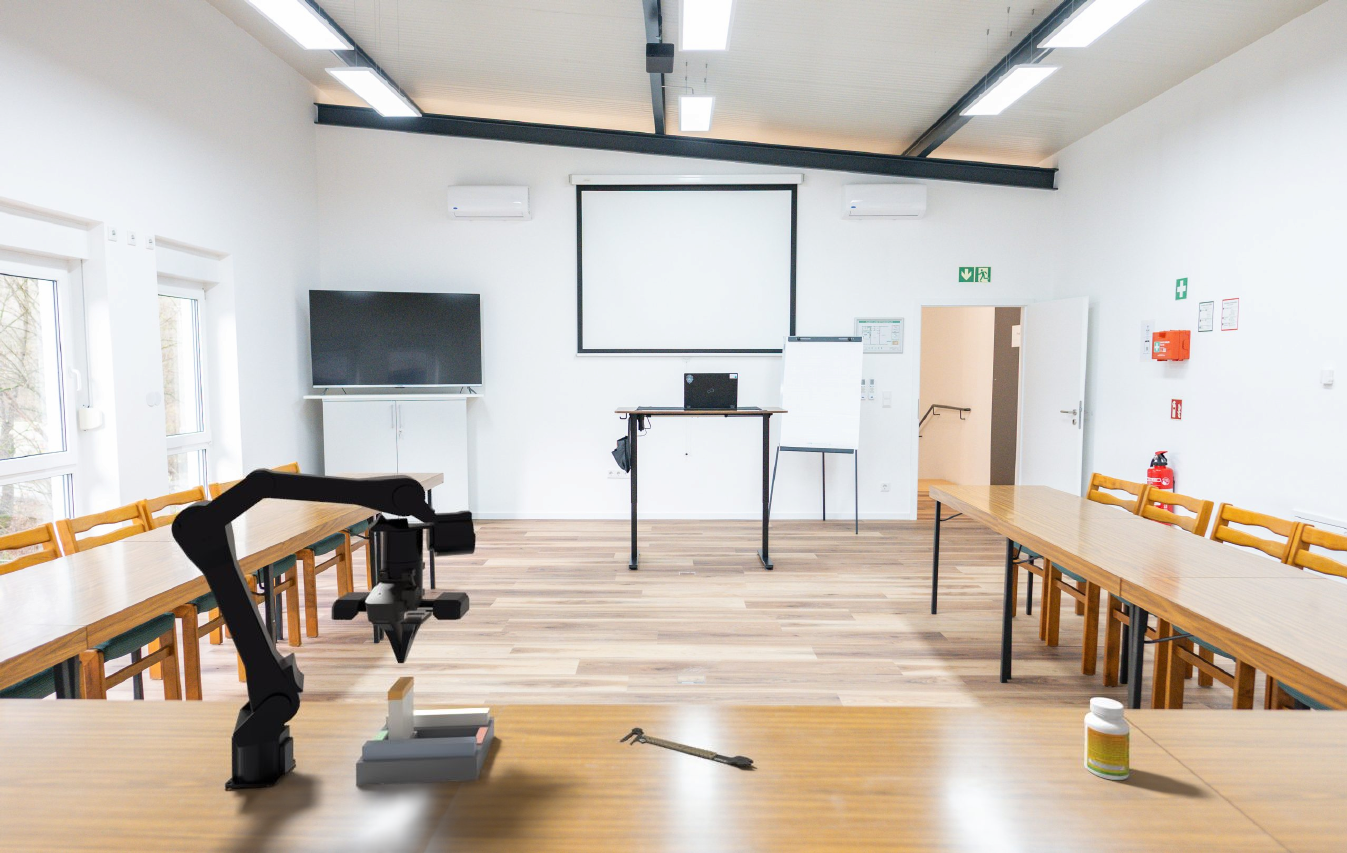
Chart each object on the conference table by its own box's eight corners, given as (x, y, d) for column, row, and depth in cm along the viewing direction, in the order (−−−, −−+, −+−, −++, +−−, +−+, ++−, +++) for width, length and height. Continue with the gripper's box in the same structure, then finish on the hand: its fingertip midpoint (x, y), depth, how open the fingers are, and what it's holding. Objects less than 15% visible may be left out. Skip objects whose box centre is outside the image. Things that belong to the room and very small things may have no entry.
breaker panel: (356, 784, 92) (355, 749, 92) (388, 739, 105) (388, 708, 105) (476, 780, 93) (476, 745, 93) (494, 735, 106) (494, 705, 106)
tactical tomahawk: (610, 753, 103) (609, 746, 103) (634, 732, 108) (634, 725, 108) (736, 790, 92) (735, 782, 92) (755, 764, 98) (755, 757, 97)
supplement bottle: (1136, 783, 93) (1137, 712, 92) (1092, 778, 94) (1093, 708, 94) (1118, 763, 98) (1119, 696, 98) (1077, 759, 99) (1078, 693, 99)
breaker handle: (384, 757, 96) (384, 691, 96) (396, 739, 101) (396, 676, 101) (406, 756, 96) (406, 690, 96) (417, 738, 101) (417, 676, 101)
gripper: (313, 570, 94) (312, 683, 94) (450, 571, 95) (449, 682, 95) (348, 555, 105) (347, 655, 105) (470, 555, 106) (469, 655, 106)
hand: (401, 662), depth 102 cm, fingers closed
